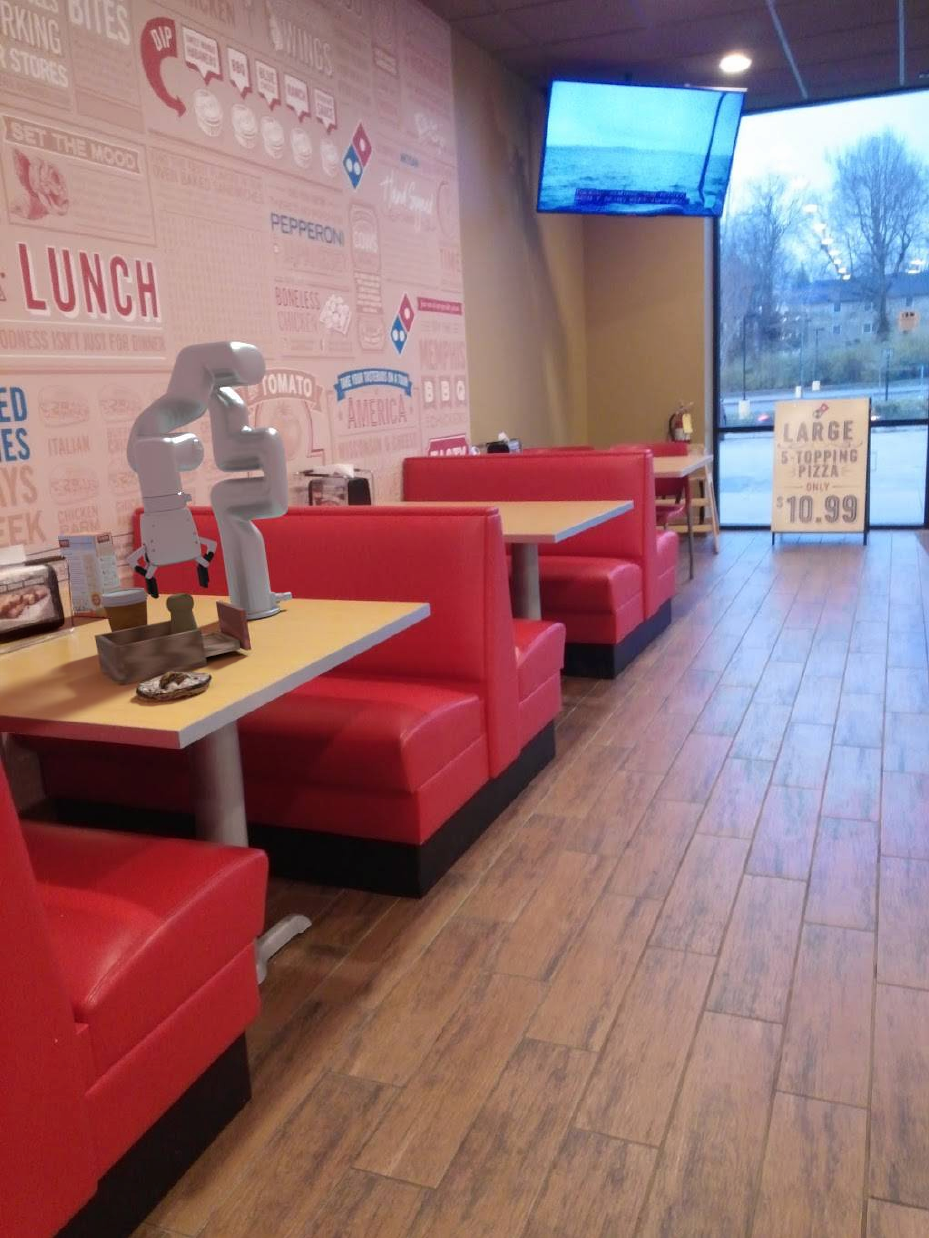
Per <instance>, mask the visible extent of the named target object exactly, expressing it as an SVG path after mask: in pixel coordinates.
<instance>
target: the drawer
mask: <svg viewBox="0 0 929 1238" xmlns="http://www.w3.org/2000/svg"><path fill="white" fill-rule="evenodd" d="M215 604H216V605H215V606H216V611H217V619H218V625H219V630H217V631H214V632H210V633H204V634H203V633H202V638H203V644H204V651H205V657H206V658H208V657H211V656H216V655H220V654H224V653H231V652H234V651H238V650H241V649H242V650H244V651H251V650H252V646H251V637H250V631H249V625H248V620H247V617H246V610H245V609H243V608H240V607H237V606H234V605H231V603H228V602H225V601H223V600H218V601H215Z"/></svg>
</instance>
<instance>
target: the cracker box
mask: <svg viewBox="0 0 929 1238" xmlns="http://www.w3.org/2000/svg"><path fill="white" fill-rule="evenodd" d="M57 539H58V545H59V549H60V551H59V552H60V554H61V558H62V557H63V556H64V557H66V558H67V561H68V565H69V573H70V582H71V591H72V604H73V611H74V615H75V616H74V617H91V618H103V617H104V618H105V619H108V618H107V615H106V612H105V609H104V606H103V605H102V603H101V602H100V601H101V600H102V595H103V594H104V593H107V592H111V591H115V590H121V589H122V586H121V581H120V575H119V569H118V564H117V557H116V552H115V551H116V550H115V545H114V540H113V535H112V531H80V532H70V533H65V534H61V535H58V536H57ZM62 567H63V570H64V571H63V572H64V577H65V579H66V568H65V565H64V563H63V562H62Z"/></svg>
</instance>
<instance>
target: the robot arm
mask: <svg viewBox="0 0 929 1238" xmlns="http://www.w3.org/2000/svg"><path fill="white" fill-rule="evenodd" d="M266 372H267V371H266V361H265V357H264V355H263V354H262V351H261V350H260V349H259V348H258V347H257V346H255V345H253V344H250V343H245V342H241V341H234V340H225V341H224V340H223V341H222V340H221V341H213V342H202V343H194V344H189V345H187V346H185V347H183V348H182V349H181V350H180V351H179V353H177V356H176V359H175V363H174V366H173V369H172V373H171V376H170V379H169V381H168V382H169V383H168V385H167V390H166V392H165V393H164V394H162V395H161V396H159V398H157V399H156V400H155V401H154V402H152V403H151V404H150V405H149V406H147V407H146V408H145V409H144V410H143V411H142V412H141V413H139V415H138V416H137V417H136V419H135V420H134V423H133V424H132V426H131V431H130V433H129V436H128V439H127V444H126V459H127V463H128V466H129V467H130V469H131V470H132V471H133V472H135V473H137V474H136V475H137V477H138V483H139V490H140V494H141V495H140V496H141V500H142V506H143V511H144V513H141V514H140V515H139V527H140V540H141V546H140V547H139V548H137V549H136V550H135V551H133V552H132V553H131V554H129V555H127V557H126V559H125V560H126V562H127V563H128V564H129V566H130V567H131V568H132V569H133V571H134V572H135V573H138V574H139V575H141V576H142V577H143V578H144V581H145V585H146V586H145V587H146V593H147V594H148V596H150V597H151V598H153V599H155V600H157V599H159V598H160V595H159V589H158V584H157V579H156V578H155V577H154V575H155V573H156V571H157V569H158V568H159V567H165V566H170V565H176V564H181V563H185V562H186V563H187V562H190V561H194V562H195V563H196V564H197V566H196V572H197V579H198V585H199V587H201V588H204V589H207V588H209V584H208V583H210V575H209V570H208V567H209V566H210V563H211V562H212V560H213V559H214V556H215V552H216V549H217V546H218V542H217V541H215V540H211V539H209V538H205V537H203V536H200V535H198V530H197V527H196V524H195V521H194V518H193V515H192V512H191V509H190V508H189V507H188V506H187V503H189V502H191V501H192V499H193V498H192V494H191V493H188V494H187V493H185V491H184V490H183V486H182V485H183V484H182V478H181V474H180V473H183V472H190V471H194V470H195V469H197V468H198V467H199V466H201V464H202V463H203V460H204V457H205V456H204V455H205V450H204V445H203V442H202V441H201V440H200V438H199V437H198V436H197V435H195V434H194V433H191V432H186V431H184V432H183V431H179V432H172V431H174V430H178V429H179V428H182V427H184V426H187V425H189V424H191V423H194V422H195V421H197V420H199V419H200V418H201V417H203V416H204V415H205V414H206V412H207V411H208V413H209V420H210V433H211V442H212V451H213V452H212V454H213V459H214V464H215V466H216V467H217V469H219V471H221V472H223V473H246V472H256V471H262V472H263V475H261V476H251V477H248V476H247V477H237V478H228V479H227V478H226V479H223V480H221V481H218V482H217V483H215V484H214V485H213V486H212V488H211V491H210V494H209V500H210V504H211V508H212V511H213V514H214V517H215V521H216V523H217V529H218V532H219V538H220V542H221V548H222V556H223V562H224V563H223V564H224V569H225V576H226V583H227V589H228V596H229V604H231V605H234V606H237V607H240V608H243V609H245V610H246V617H247V621H249V620H255V619H262V618H267V617H270V616H273V615H276V614H278V613H279V612H280V611H281V606H280V605H279V604H280V603H281V602H286V601H292V599H293V595H292V592H291V591H286V592H278V593H277V592H274V591H272V590H271V583H270V575H269V569H268V562H267V554H266V549H265V547H266V546H265V541H264V540H265V539H264V537H263V534H262V533H261V531H260V530H259V528H258V527H257V526H256V525H255V524H254V523H253V522H252V521H254V520H264V519H273V518H280V517H282V516H284V515H286V514H287V512H288V510H289V506H290V494H289V493H290V492H289V483H288V482H289V481H288V472H287V471H288V470H287V469H288V468H287V459H286V450H285V445H284V440H283V438H282V436H281V434H280V433H279V431H278V430H277V429H275V428H273V427H269V426H262V427H250V421H249V411H248V406H247V404H246V403H245V401H244V400H243V399H242V398H241V396H240V395H239V394H238V393H237V392H236V391H235V390H234V389H233V388H236V387H239V388H240V387H247V386H255V385H258V384H260V383H261V382H262V381H263V380H264V378H265V375H266ZM186 506H187V507H186ZM201 545H203V546H204V545H205V546H206V547H207V549H206V552H205V553H204V555H203V556H202V548H201ZM141 557H143V560H144V562H145V564H146V565H145V566H144V567H143V566H141V565H140V564H139V563H138V560H139V559H140V558H141Z"/></svg>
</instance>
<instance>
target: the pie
mask: <svg viewBox="0 0 929 1238" xmlns="http://www.w3.org/2000/svg"><path fill="white" fill-rule="evenodd" d="M212 679H213V678H212V675H211V674H209V673H207V672H196V671H194V672H193V671H181V672H173V671H169V672H167V673H165V674H164V675H162V676H159V677H155V678H151V679H148V681H147V680H146V681H144V682H143V683H142V682H141V683H139V685H138V686H136V689H135V694H136V696H137V698H138V700H140V701H143V702H146V703H156V702H157V703H159V702H161V703H163V702H170V701H171V702H173V701H180V700H185V699H187V698H188V699H189V698H192V697H195V696H199V695H201V694H204V693H206V691H207V690H208V689H209V688H210V684H211V682H212Z"/></svg>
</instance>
